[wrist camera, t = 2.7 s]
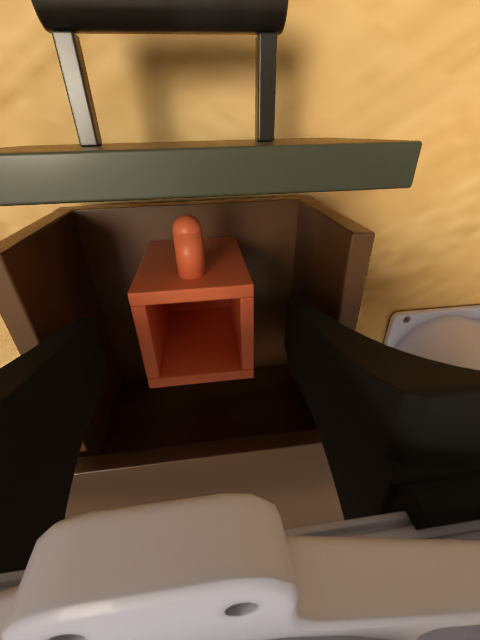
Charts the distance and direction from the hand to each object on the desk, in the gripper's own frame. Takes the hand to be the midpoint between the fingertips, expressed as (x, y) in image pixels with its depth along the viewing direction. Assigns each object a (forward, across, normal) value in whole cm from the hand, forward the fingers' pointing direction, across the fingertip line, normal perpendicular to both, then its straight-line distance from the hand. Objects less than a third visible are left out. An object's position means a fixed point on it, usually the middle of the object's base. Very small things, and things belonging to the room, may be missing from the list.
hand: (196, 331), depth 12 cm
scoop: (+5, 0, -1) cm, 5 cm away
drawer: (+6, 0, -2) cm, 7 cm away
